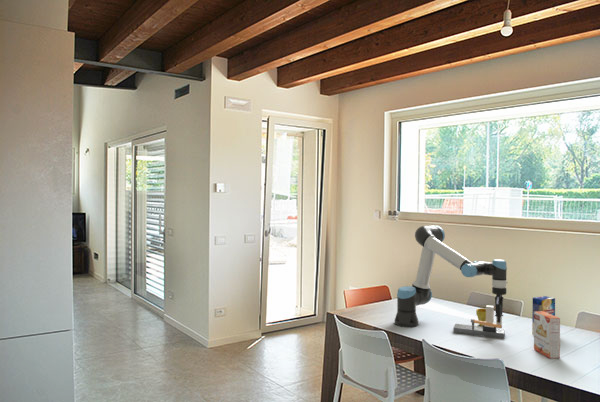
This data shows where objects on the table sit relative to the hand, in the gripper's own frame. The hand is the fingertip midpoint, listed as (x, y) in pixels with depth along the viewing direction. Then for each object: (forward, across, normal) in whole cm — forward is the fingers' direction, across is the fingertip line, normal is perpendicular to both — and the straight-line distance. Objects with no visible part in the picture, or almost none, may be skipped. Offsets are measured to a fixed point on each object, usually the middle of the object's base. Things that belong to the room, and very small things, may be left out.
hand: (499, 327), depth 269 cm
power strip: (+7, +6, +12) cm, 15 cm away
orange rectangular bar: (+4, 0, +7) cm, 8 cm away
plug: (+4, +6, +6) cm, 9 cm away
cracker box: (+7, -14, -25) cm, 29 cm away
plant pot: (+7, +27, +12) cm, 30 cm away
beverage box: (+7, +24, -21) cm, 33 cm away
